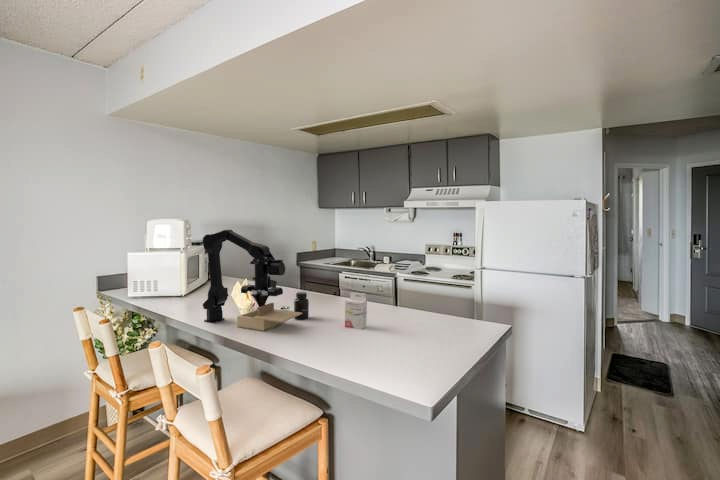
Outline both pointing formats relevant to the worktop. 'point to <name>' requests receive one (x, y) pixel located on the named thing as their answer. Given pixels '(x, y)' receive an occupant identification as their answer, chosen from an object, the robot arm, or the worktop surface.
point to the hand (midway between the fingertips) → (261, 309)
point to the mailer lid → (274, 314)
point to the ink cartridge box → (356, 311)
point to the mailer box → (255, 322)
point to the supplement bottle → (301, 305)
